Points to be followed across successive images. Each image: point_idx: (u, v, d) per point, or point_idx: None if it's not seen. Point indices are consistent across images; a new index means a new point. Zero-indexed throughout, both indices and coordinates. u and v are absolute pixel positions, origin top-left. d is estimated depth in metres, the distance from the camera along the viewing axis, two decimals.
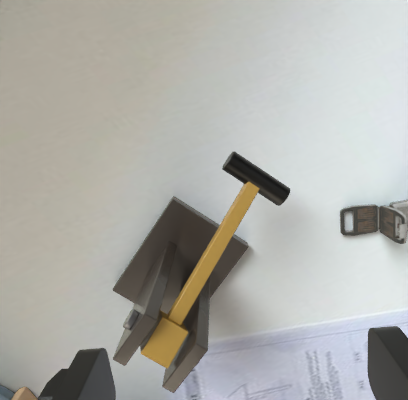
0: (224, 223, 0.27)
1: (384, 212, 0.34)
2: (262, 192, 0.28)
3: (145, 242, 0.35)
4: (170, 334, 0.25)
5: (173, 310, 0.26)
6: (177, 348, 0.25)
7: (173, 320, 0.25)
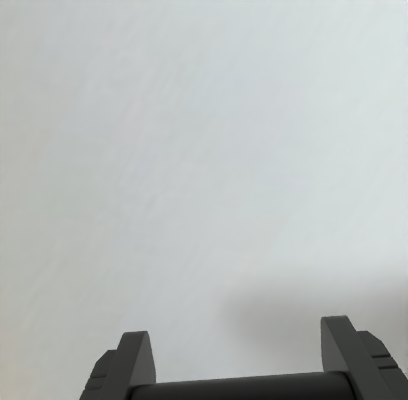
0: None
1: None
2: None
3: None
4: None
5: None
6: None
7: None
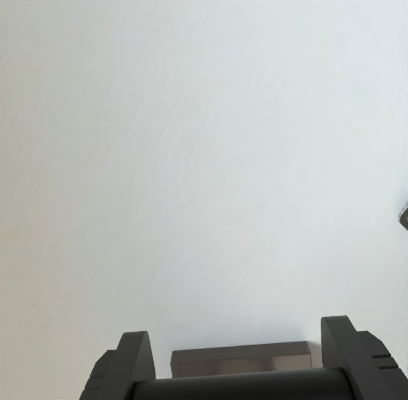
0: None
1: None
2: None
3: None
4: None
5: None
6: None
7: None
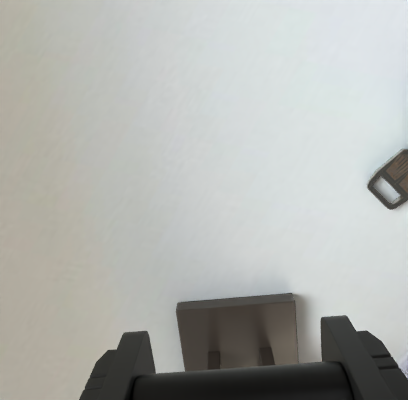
0: None
1: None
2: None
3: (186, 369, 0.28)
4: None
5: None
6: None
7: None
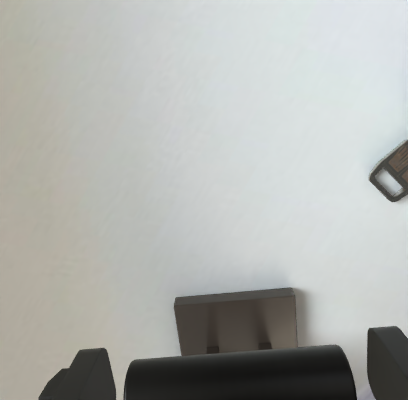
0: None
1: None
2: None
3: None
4: None
5: None
6: None
7: None
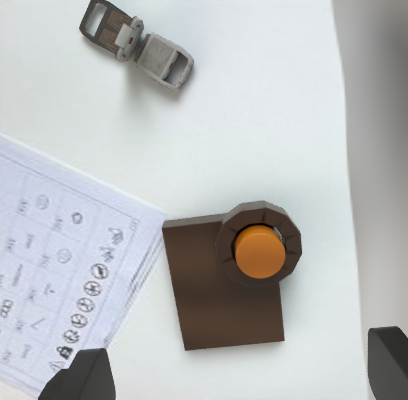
0: None
1: None
2: None
3: None
4: None
5: None
6: None
7: None
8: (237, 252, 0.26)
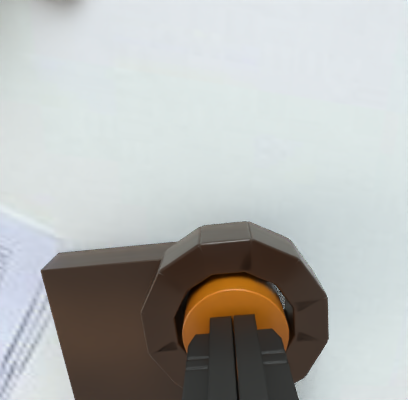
0: None
1: None
2: None
3: None
4: None
5: None
6: None
7: None
8: (185, 327, 0.12)
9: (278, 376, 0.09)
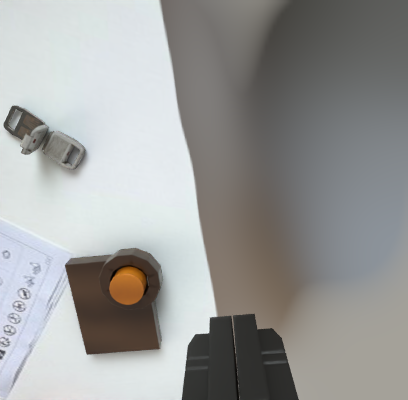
0: None
1: None
2: None
3: None
4: None
5: None
6: None
7: None
8: (110, 286, 0.36)
9: (278, 376, 0.09)
